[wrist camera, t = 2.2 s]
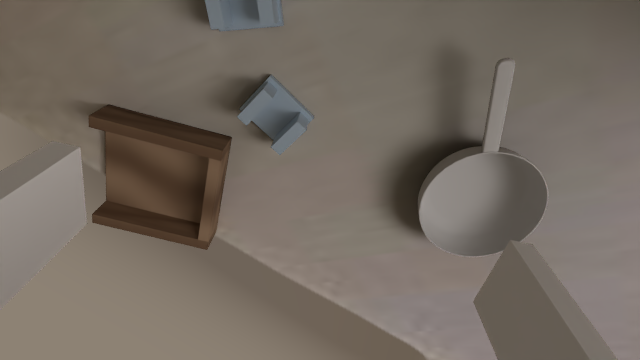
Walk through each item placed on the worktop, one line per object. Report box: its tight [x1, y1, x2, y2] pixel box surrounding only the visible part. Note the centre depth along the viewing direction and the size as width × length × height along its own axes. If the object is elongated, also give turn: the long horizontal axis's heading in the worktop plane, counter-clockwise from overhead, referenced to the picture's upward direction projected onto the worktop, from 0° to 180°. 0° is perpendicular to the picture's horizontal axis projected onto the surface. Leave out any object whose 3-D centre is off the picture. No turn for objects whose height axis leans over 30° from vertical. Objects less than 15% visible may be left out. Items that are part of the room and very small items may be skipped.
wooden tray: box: [89, 105, 232, 250], centre depth 35 cm, size 11×11×3 cm
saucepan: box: [418, 58, 549, 257], centre depth 32 cm, size 11×18×4 cm, turn 4°
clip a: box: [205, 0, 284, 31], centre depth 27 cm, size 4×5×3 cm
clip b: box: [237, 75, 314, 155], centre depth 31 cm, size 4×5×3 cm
